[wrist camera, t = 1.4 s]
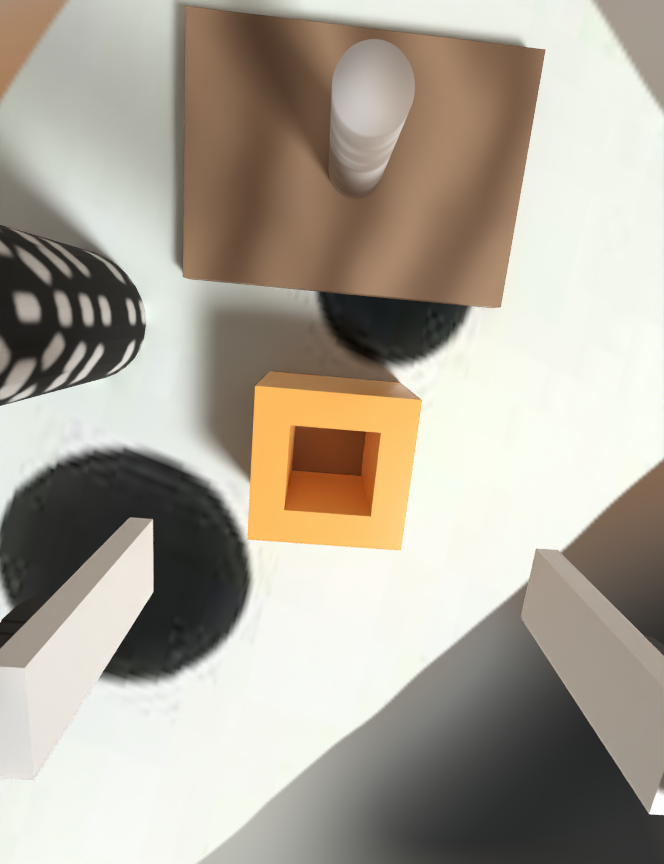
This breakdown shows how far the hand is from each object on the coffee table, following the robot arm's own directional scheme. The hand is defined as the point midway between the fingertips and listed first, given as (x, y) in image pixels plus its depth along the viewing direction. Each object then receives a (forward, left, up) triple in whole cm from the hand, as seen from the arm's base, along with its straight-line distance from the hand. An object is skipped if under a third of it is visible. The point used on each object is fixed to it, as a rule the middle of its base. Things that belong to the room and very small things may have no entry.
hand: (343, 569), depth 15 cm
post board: (0, +17, -17) cm, 24 cm away
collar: (0, 0, -17) cm, 17 cm away
